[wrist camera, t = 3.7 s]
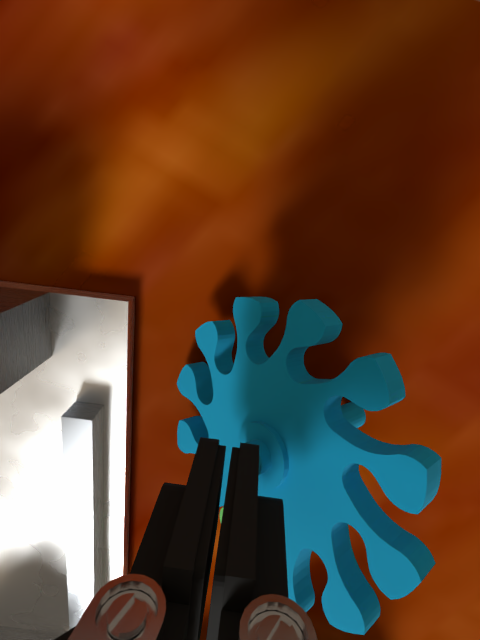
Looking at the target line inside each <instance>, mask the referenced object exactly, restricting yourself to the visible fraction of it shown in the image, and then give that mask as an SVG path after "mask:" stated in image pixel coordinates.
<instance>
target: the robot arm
mask: <svg viewBox="0 0 480 640" xmlns="http://www.w3.org/2000/svg"><path fill="white" fill-rule="evenodd" d="M225 453H226V446H223V445H219V439H211V438H204V437H200V440H199V443H198V447H197V450H196V454H195V457H194V461H193V464H192V468H191V471H190V475H189V478H188V482H187V485H179V484H171V483H164V484H163V486H162V488H161V491H160V494H159V496H158V499H157V502H156V504H155V507H154V510H153V512H152V515H151V518H150V520H149V523H148V526H147V529H146V531H145V534H144V537H143V539H142V542H141V545H140V547H139V550H138V553H137V556H136V558H135V561H134V564H133V566H132V569H131V572H130V574H128V575H122V576H120V577H117V578H115V579H113V580H111V581H109V582H108V583H107V584H105V585H104V586H103V587H102V588H100V590H99V591H98V592H97V593H96V595H95V596H94V597H93V599H92V600H91V602H90V603H89V605H88V607H87V608H86V610H85V612H84V613H83V615H82V617H81V618H80V620H79V622H78V623H77V625H76V626H75V627H73V628H72V629H70V630H68V631H67V632H65V633H64V634H62V635H60V636H59V637H57V638H56V639H54V640H200V633H201V627H202V621H203V614H204V608H205V601H206V595H207V588H208V582H209V575H210V569H211V562H212V556H213V550H214V543H215V537H216V530H217V522H218V514H219V505H220V496H221V487H222V479H223V470H224V461H225ZM258 476H259V445H255V444H248V443H241V442H240V448H238V447H232V452H231V459H230V466H229V473H228V480H227V487H226V494H225V501H224V508H223V515H222V522H221V529H220V536H219V543H218V550H217V557H216V564H215V571H214V579H213V587H212V596H211V604H210V613H209V621H208V630H207V638H206V640H317V636H316V632H315V629H314V627H313V624H312V622H311V619H310V618H309V617H308V615H307V614H306V612H305V611H304V610H303V608H301V607H300V606H299V605H298V604H297V603H296V602H294V601H293V600H291V599H289V597H288V578H287V560H286V542H285V523H284V506H283V500H282V499H279V498H272V497H264V496H258Z"/></svg>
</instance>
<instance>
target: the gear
mask: <svg viewBox="0 0 480 640" xmlns="http://www.w3.org/2000/svg"><path fill="white" fill-rule="evenodd" d="M233 316H234V320H235V323H236V329H237V341H238V342H237V352H236V357H235V361H234V364H233V361H232V349H233V345H234V341H235V330H234V326H233V324H232V322H231V321H230V320H223V321H211V322H206V323H204V324H203V325H201V326H200V327H199V328H198V329H197V330H196V331H195V336H196V341H197V344H198V347H199V348H200V350H201V351H202V353H203V354H204V356H205V358H206V360H207V363H208V365H207V364H206V363H204V362H198V363H192V364H186V365H185V366H184V367H183V369H182V371H181V373H180V375H179V378H178V381H177V385H178V388H179V391H180V392H181V394H182V395H183V396H185V397H186V398H188V399H189V400H190V401H191V402H192V403H193V404H194V405H195V406H196V408H197V409H198V411H199V412H200V414H201V416H202V417H200V416H194V417H190V418H187V419H183V420H180V421H179V424H178V432H177V439H178V447H179V448H180V450H181V451H182V452H184V453H195V454H196V450H197V447H198V443H199V440H200V437H204V438H211V439H219V445H223V446H226V453H225V461H224V470H223V479H222V487H221V496H220V505H219V507H221V506H224V501H225V494H226V487H227V480H228V473H229V466H230V459H231V452H232V447H238V448H240V442H241V443H248V444H255V445H259V476H258V496H264V497H272V498H279V499H282V500H283V506H284V523H285V542H286V560H287V578H288V597H289V599H291V600H293V601H294V602H296V603H297V604H298V605H299V606H300V607H301V608H303V610H304V611H305V612H307V611H308V610H309V609H310V608H311V607H312V606H313V605H314V602H315V594H314V589H313V586H312V582H311V576H310V556H311V552H312V551H314V552H315V553H316V554H317V555H318V556H319V557H320V558H321V559H322V561H323V563H324V564H325V567H326V569H327V573H328V582H327V585H326V587H325V589H324V591H323V594H322V607H323V610H324V613H325V616H326V618H327V620H328V621H329V623H330V624H331V625H332V626H334V627H335V628H337V629H339V630H342V631H344V632H348V633H352V634H360V635H365V633H366V632H367V631H368V630H369V629H370V627H371V626H372V625H373V624H374V622H375V621H376V620H377V619H378V618H379V616H380V611H381V610H380V604H379V601H378V598H377V596H376V594H375V592H374V590H373V589H372V587H371V586H370V584H369V583H368V582H367V580H366V579H365V577H364V575H363V573H362V572H361V570H360V568H359V566H358V564H357V561H356V559H355V556H354V553H353V550H352V547H351V542H350V537H349V529H348V524H349V525H351V526H352V527H354V528H355V529H356V530H357V531H358V533H359V534H360V535H361V537H362V539H363V541H364V543H365V546H366V551H367V559H368V566H369V570H370V573H371V576H372V578H373V580H374V582H375V583H376V585H377V586H378V587H379V589H380V590H381V591H382V592H383V593H384V594H385V595H386V596H387V597H388V598H390V599H391V600H392V599H399V598H402V597H404V596H406V595H408V594H409V593H410V592H412V591H413V590H414V589H415V588H416V587H417V586H418V585H419V584H420V582H421V581H422V580H423V579H424V578H425V576H426V575H427V574H428V572H429V571H430V570H431V569H432V567H433V566H434V565H435V561H434V558H433V556H432V554H431V553H430V551H429V549H428V548H427V547H426V546H425V545H424V543H423V542H422V541H420V540H419V539H418V538H417V537H416V536H414V535H412V534H410V533H409V532H407V531H405V530H404V529H403V528H401V527H400V526H399V525H397V524H396V523H395V522H393V521H392V520H391V519H390V518H389V517H388V516H387V515H386V514H385V513H384V512H383V510H382V509H381V508H380V507H379V506H378V504H377V503H376V502H375V500H374V499H373V497H372V496H371V494H370V493H369V491H368V489H367V487H366V486H365V484H364V482H363V480H362V479H361V476H360V474H359V467H358V466H359V464H360V465H362V466H364V467H366V468H367V469H368V470H369V471H370V472H371V473H372V474H373V475H374V477H375V478H376V480H377V481H378V483H379V485H380V486H381V488H382V490H383V491H384V493H385V494H386V496H387V497H388V499H389V500H390V501H391V502H392V503H393V504H394V505H396V506H397V507H398V508H400V509H402V510H404V511H406V512H409V513H412V514H419V513H420V512H421V511H422V510H423V509H424V508H425V507H426V506H427V505H428V504H429V503H430V502H431V501H432V500H433V498H434V497H435V495H436V494H437V491H438V488H439V485H440V478H441V457H440V456H439V455H438V454H437V453H435V452H434V451H433V450H431V449H429V448H428V447H425V446H422V445H417V444H410V445H393V444H388V443H384V442H381V441H378V440H376V439H374V438H371V437H370V436H368V435H366V434H365V433H363V432H362V431H360V430H359V429H357V428H358V427H360V426H362V425H363V424H364V422H365V419H366V415H365V412H364V410H363V409H365V410H369V411H379V410H382V409H384V408H386V407H389V406H391V405H393V404H395V403H397V402H399V401H401V400H402V399H404V398H405V387H404V383H403V379H402V376H401V374H400V372H399V369H398V367H397V365H396V363H395V361H394V359H393V358H392V356H391V354H389V353H376V354H372V355H368V356H363V357H360V358H357V359H355V360H354V361H352V362H351V363H350V364H349V366H348V367H347V368H346V370H345V371H344V372H342V373H341V374H340V375H339V376H338V377H336V378H334V379H316V378H314V377H312V376H311V375H310V374H309V373H308V372H307V370H306V368H305V366H304V354H305V351H306V349H307V348H308V347H309V346H314V345H320V344H325V343H330V342H332V341H334V340H335V339H336V338H337V337H338V336H339V334H340V332H341V330H342V325H343V324H342V322H341V321H340V319H339V317H338V316H337V315H336V314H335V313H334V312H333V311H332V310H331V309H330V308H329V307H328V306H326V305H325V304H324V303H322V302H321V301H319V300H318V299H307V300H298V301H297V302H295V303H294V304H293V305H292V306H291V308H290V310H289V312H288V315H287V324H286V329H285V333H284V336H283V339H282V341H281V344H280V345H279V347H278V349H277V350H276V351H275V352H274V354H273V355H272V356H271V357H270V358H269V357H268V356H267V355H266V353H265V351H264V346H263V341H264V337H265V335H266V334H267V332H268V331H269V330H270V329H271V328H272V327H273V326H274V325H275V324H276V322H277V320H278V317H279V305H278V302H277V301H275V300H274V299H271V298H268V297H236V299H235V301H234V305H233ZM208 366H209V367H208ZM342 397H345V398H347V399H348V400H350V401H351V402H349V403H347V404H344V405H341V399H342ZM223 508H224V507H223ZM223 508H222V509H221V511H220V522H222V515H223Z"/></svg>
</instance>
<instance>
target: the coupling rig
mask: <svg viewBox="0 0 480 640" xmlns="http://www.w3.org/2000/svg"><path fill="white" fill-rule="evenodd" d="M134 317H135V297H133V296H125V295H117V294H108V293H100V292H91V291H83V290H75V289H66V288H58V287H49V286H41V285H33V284H24V283H16V282H7V281H0V640H54V639H56V638H57V637H59V636H60V635H62V634H64V633H65V632H67V631H68V630H70V629H72V628H73V627H75V626H76V625H77V623H78V622H79V620H80V618H81V617H82V615H83V613H84V612H85V610H86V608H87V607H88V605H89V603H90V602H91V600H92V599H93V597H94V596H95V595H96V593H97V592H98V591H99V590H100V588H102V587H103V586H104V585H105V584H107V583H108V582H109V581H111V580H113V579H115V578H117V577H120V576H122V575H128V549H129V511H130V472H131V433H132V395H133V356H134Z"/></svg>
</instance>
